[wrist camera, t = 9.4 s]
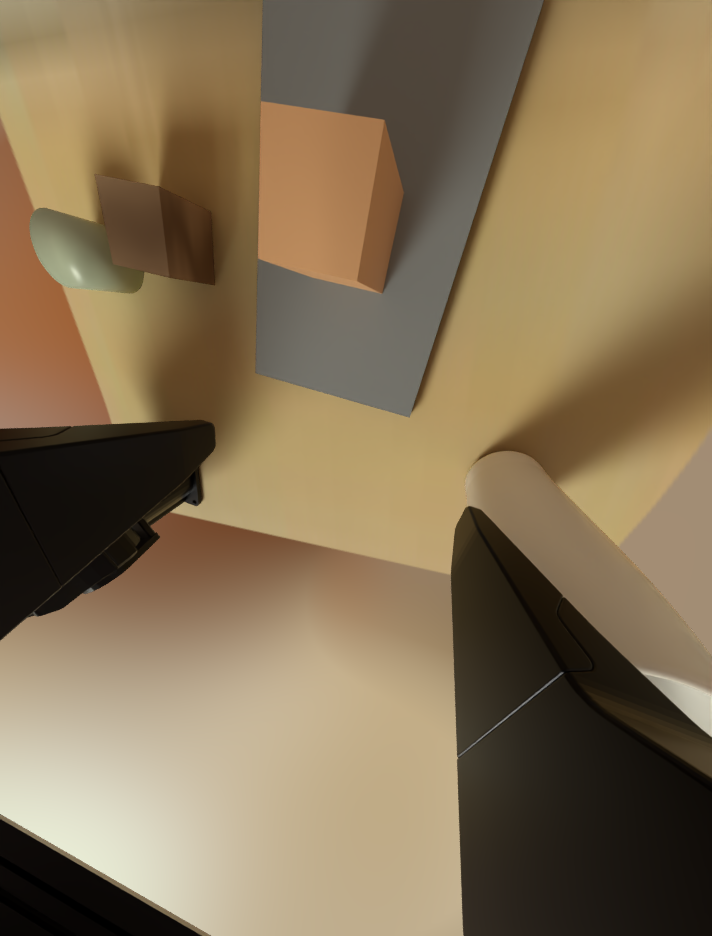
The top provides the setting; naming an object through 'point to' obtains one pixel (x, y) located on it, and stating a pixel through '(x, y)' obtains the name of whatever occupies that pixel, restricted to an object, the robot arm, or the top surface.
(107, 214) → the walnut block
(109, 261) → the sage cylinder
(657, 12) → the top surface
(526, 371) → the top surface
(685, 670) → the drinking glass
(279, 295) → the slate mat
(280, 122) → the terracotta block
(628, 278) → the top surface
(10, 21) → the top surface
